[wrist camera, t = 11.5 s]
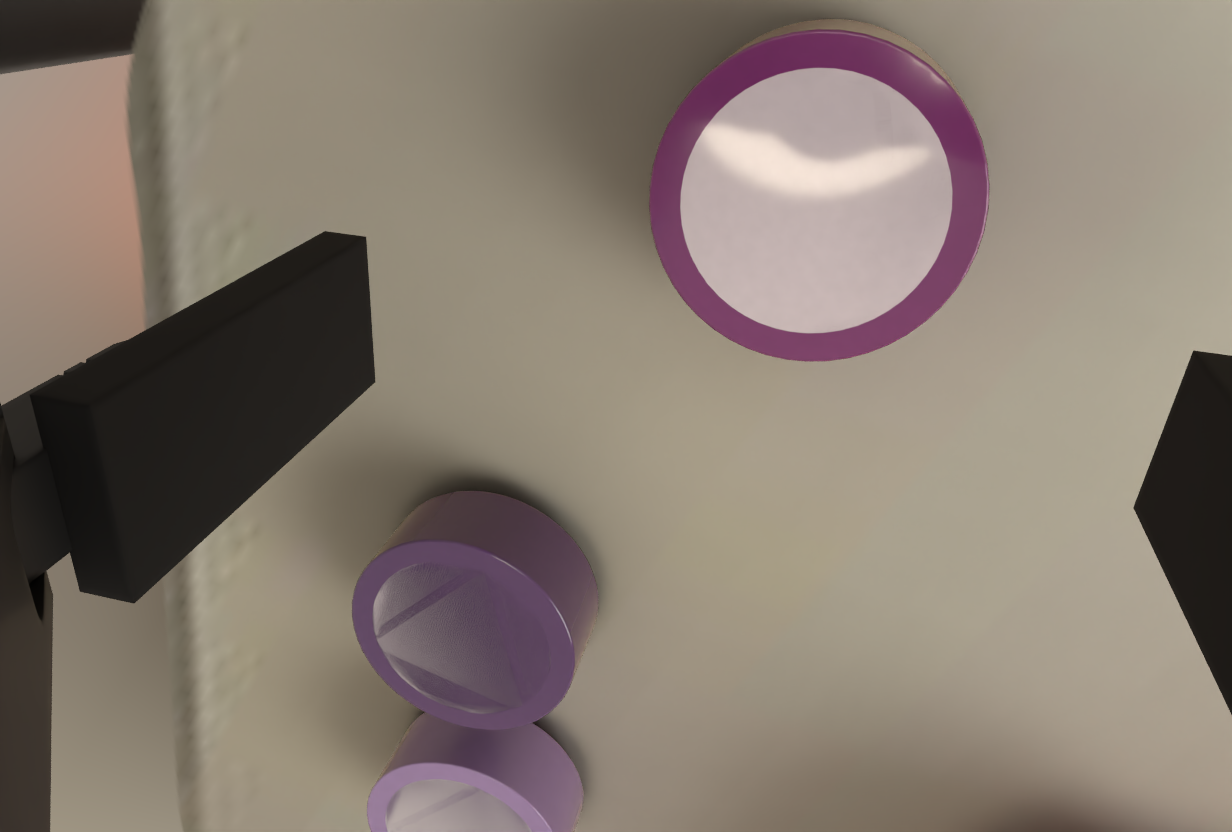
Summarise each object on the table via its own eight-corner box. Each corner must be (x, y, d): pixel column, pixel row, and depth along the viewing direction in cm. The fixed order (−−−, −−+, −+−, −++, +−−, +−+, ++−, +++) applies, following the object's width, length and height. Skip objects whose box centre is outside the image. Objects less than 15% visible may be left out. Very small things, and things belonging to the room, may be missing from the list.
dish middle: (405, 631, 38) (357, 701, 34) (397, 460, 34) (343, 518, 30) (598, 675, 36) (568, 753, 33) (611, 501, 33) (580, 568, 29)
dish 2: (664, 288, 29) (636, 336, 25) (693, 2, 25) (663, 12, 21) (935, 329, 27) (945, 385, 24) (1008, 32, 23) (1032, 47, 20)
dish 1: (412, 803, 42) (371, 881, 39) (406, 669, 39) (360, 741, 35) (583, 849, 41) (556, 933, 37) (594, 714, 37) (566, 793, 34)
